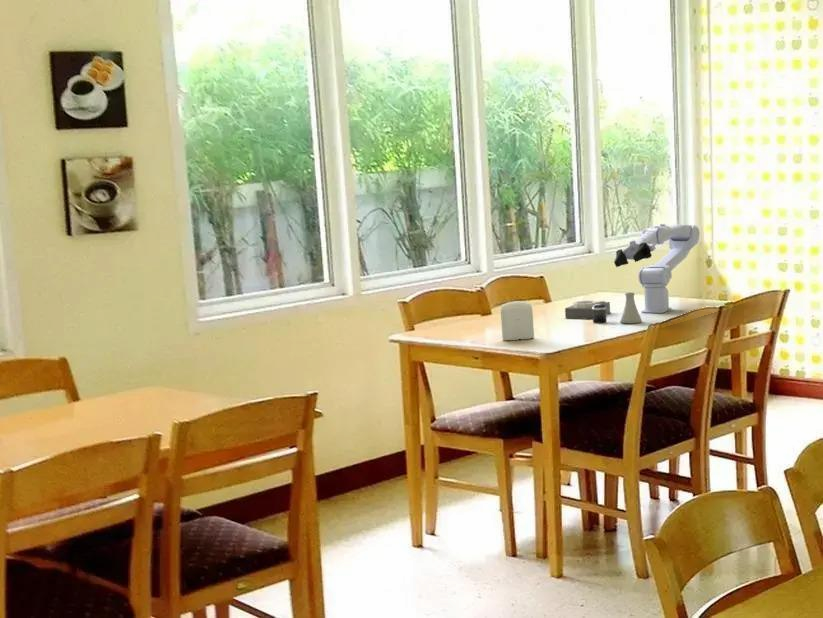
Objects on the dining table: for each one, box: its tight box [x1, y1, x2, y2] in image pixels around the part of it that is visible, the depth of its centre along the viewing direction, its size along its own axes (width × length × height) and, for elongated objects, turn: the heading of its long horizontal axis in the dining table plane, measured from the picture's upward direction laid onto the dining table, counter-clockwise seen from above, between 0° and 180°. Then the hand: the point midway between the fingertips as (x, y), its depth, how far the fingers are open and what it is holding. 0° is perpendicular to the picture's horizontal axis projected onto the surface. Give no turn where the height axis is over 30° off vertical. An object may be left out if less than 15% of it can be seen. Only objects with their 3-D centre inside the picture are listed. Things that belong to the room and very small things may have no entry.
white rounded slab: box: [500, 300, 535, 341], centre depth 392 cm, size 10×4×12 cm, turn 91°
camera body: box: [564, 300, 611, 320], centre depth 432 cm, size 14×11×5 cm
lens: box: [592, 303, 607, 324], centre depth 416 cm, size 5×5×6 cm
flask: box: [619, 292, 642, 325], centre depth 410 cm, size 7×7×10 cm
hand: (625, 261), depth 411 cm, fingers open, 7 cm apart
